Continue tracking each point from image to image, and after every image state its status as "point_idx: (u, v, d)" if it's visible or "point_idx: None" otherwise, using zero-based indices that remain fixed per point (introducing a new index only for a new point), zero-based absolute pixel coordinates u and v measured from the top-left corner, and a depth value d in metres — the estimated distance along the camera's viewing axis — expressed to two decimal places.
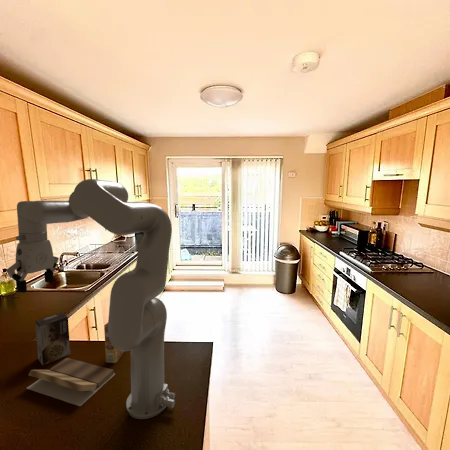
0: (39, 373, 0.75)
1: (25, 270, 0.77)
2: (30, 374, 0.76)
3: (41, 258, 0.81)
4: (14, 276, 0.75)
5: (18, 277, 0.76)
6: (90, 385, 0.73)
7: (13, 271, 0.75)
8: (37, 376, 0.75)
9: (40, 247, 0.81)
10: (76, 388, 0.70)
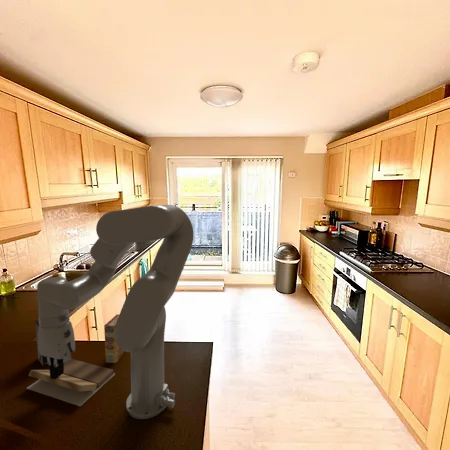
0: (39, 373, 0.75)
1: (74, 348, 0.74)
2: (30, 374, 0.76)
3: None
4: None
5: None
6: (90, 385, 0.73)
7: None
8: (37, 376, 0.75)
9: None
10: (76, 388, 0.70)
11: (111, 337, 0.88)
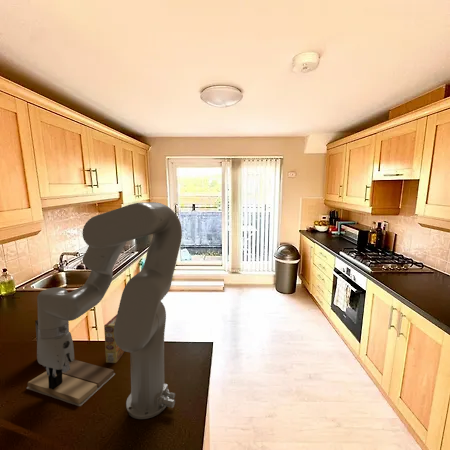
0: (36, 386, 0.75)
1: (73, 359, 0.74)
2: (29, 386, 0.76)
3: None
4: None
5: None
6: (89, 391, 0.73)
7: None
8: (36, 388, 0.75)
9: None
10: (75, 401, 0.70)
11: (111, 337, 0.88)
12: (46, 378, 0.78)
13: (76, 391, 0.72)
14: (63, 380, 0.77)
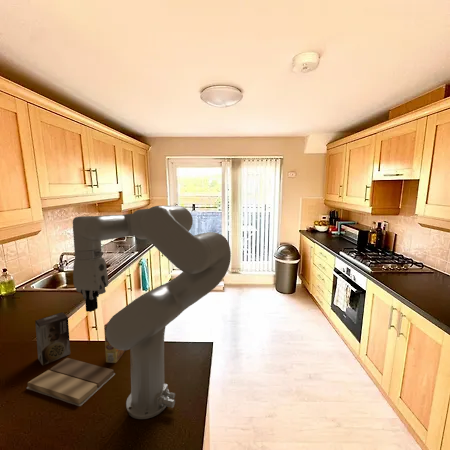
0: (36, 386, 0.75)
1: (107, 283, 0.78)
2: (29, 386, 0.76)
3: None
4: None
5: None
6: (89, 391, 0.73)
7: None
8: (36, 388, 0.75)
9: None
10: (75, 401, 0.70)
11: None
12: (46, 378, 0.78)
13: (76, 391, 0.72)
14: (63, 380, 0.77)
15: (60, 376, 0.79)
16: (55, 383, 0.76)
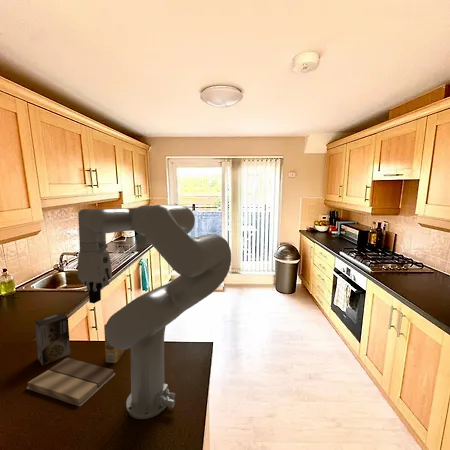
0: (36, 386, 0.75)
1: (111, 276, 0.79)
2: (29, 386, 0.76)
3: None
4: None
5: None
6: (89, 391, 0.73)
7: None
8: (36, 388, 0.75)
9: None
10: (75, 401, 0.70)
11: None
12: (46, 378, 0.78)
13: (76, 391, 0.72)
14: (63, 380, 0.77)
15: (60, 376, 0.79)
16: (55, 383, 0.76)
